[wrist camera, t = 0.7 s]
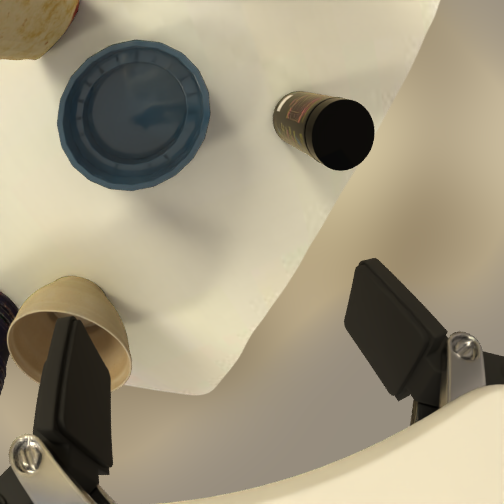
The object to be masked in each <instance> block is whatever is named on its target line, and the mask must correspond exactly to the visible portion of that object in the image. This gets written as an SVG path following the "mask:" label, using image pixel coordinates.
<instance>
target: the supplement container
mask: <svg viewBox="0 0 504 504" xmlns="http://www.w3.org/2000/svg"><path fill="white" fill-rule="evenodd" d="M273 124H274V128H275V131H276V133H277V134H278V136H279V137H280V138H281V139H282V140H283V141H285V142H286V143H288V144H290V145H292V146H293V147H295V148H297V149H299V150H300V151H302V152H304V153H306V154H307V155H309V156H311V157H312V158H314V159H315V160H316V161H318V162H319V163H321V164H323V165H325V166H327V167H328V168H330V169H333V170H339V171H342V170H348V169H351V168H353V167H355V166H357V165H358V164H360V163H361V162H362V161H363V160H364V159H365V158H366V157H367V155H368V154H369V152H370V150H371V148H372V145H373V141H374V124H373V120H372V118H371V116H370V114H369V112H368V111H367V110H366V108H365V107H364V106H362V105H361V104H360V103H358V102H356V101H353V100H349V99H345V98H340V97H332V96H327V95H321V94H316V93H309V92H303V91H296V92H292V93H289V94H287V95H286V96H284V97H283V98H282V99H281V100H280V101H279V102H278V104H277V105H276V107H275V110H274V114H273Z"/></svg>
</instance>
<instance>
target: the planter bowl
mask: <svg viewBox="0 0 504 504" xmlns="http://www.w3.org/2000/svg"><path fill="white" fill-rule="evenodd" d="M69 316H74V317H75V318H76V319H77V320H81V321H82V323H83V325H84V327H85V329H86V331H87V333H88V335H89V336H90V338H91V340H92V342H93V344H94V346H95V348H96V349H97V351H98V353H99V355H100V356H101V358H102V360H103V362H104V363H105V365H106V367H107V368H108V370H109V373H110V377H111V392H113V391H115V390H117V389H118V388H120V387H121V386H123V385H124V384H125V383H126V381H127V380H128V378H129V376H130V374H131V370H132V359H131V354H130V351H129V344H128V339H127V334H126V331H125V328H124V325H123V323H122V320H121V318H120V316H119V315H118V313H117V311H116V309H115V308H114V307H113V305H112V304H111V303H110V301H109V300H108V299H107V298H106V296H105V294H104V292H103V291H102V290H101V289H100V288H99V287H98V286H97V285H96V284H94V283H93V282H91V281H89V280H87V279H84V278H81V277H76V276H67V277H63V278H60V279H58V280H56V281H55V282H53V283H50V284H48V285H46V286H44V287H42V288H40V289H39V290H37V291H36V292H34V293H33V294H32V295H31V296H30V297H29V298H28V299H27V300H26V301H25V302H24V304H23V305H22V307H21V308H20V310H19V311H18V313H17V315H16V318H15V319H14V320H13V322H12V323H11V325H10V328H9V330H8V334H7V345H8V349H9V352H10V355H11V357H12V359H13V361H14V362H15V364H16V365H17V366H18V367H19V368H20V369H21V371H23V373H24V374H26V375H27V376H28V377H29V378H30V379H32V380H33V381H35V382H36V383H38V384H40V380H41V375H42V370H43V366H44V363H45V361H46V360H47V357H48V352H49V348H50V344H51V339H52V335H53V331H54V328H55V324H56V321H57V319H58V318H62V317H69Z"/></svg>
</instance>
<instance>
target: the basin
mask: <svg viewBox="0 0 504 504" xmlns="http://www.w3.org/2000/svg"><path fill="white" fill-rule="evenodd" d="M209 119H210V103H209V92H208V89H207V87H206V85H205V82H204V80H203V78H202V76H201V73H200V71H199V70H198V69H197V67H196V66H195V65H194V64H193V63H192V62H191V61H190V60H189V59H188V58H187V57H186V56H185V55H184V54H183V53H181V52H179V51H177V50H175V49H173V48H171V47H169V46H167V45H165V44H163V43H160V42H153V41H144V40H132V41H127V42H122V43H118V44H114V45H111V46H108V47H106V48H105V49H103V50H101V51H99V52H98V53H96V54H94V55H93V56H91V57H89V58H88V59H87V60H86V61H85V62H84V63H83V64H82V65H81V66H80V67H79V68H78V70H77V71H76V72H75V73H74V74H73V75H72V76H71V78H70V80H69V82H68V84H67V86H66V88H65V90H64V92H63V95H62V97H61V99H60V104H59V111H58V120H57V127H58V132H59V137H60V142H61V146H62V149H63V150H64V152H65V154H66V156H67V157H68V159H69V161H70V162H71V164H72V166H73V167H74V168H76V169H77V170H78V171H79V172H80V173H81V174H82V175H84V176H85V177H86V178H87V179H88V180H90V181H92V182H94V183H97V184H99V185H101V186H104V187H106V188H109V189H116V190H127V191H134V190H139V189H144V188H149V187H154V186H156V185H158V184H160V183H162V182H164V181H166V180H168V179H170V178H171V177H173V176H175V175H177V174H178V173H179V172H180V171H181V170H182V169H183V168H184V167H185V166H186V165H187V164H188V163H189V162H190V161H191V160H192V159H193V158H194V156H195V155H196V153H197V151H198V149H199V148H200V146H201V144H202V143H203V141H204V139H205V136H206V132H207V128H208V123H209Z"/></svg>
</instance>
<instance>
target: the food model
mask: <svg viewBox="0 0 504 504" xmlns="http://www.w3.org/2000/svg"><path fill="white" fill-rule="evenodd" d="M78 7H79V0H0V59H8V60H23V59H31V60H36V59H38V58H40V57H41V56H42V55H44V54H45V53H46V52H47V51H48V50H49V49H50V48H51V47H52V46H53V45H54V44H55V43H56V42H57V41H58V40H59V39H60V37H61V36H62V35H63V34H64V33H65V31H66V30H67V28H68V27H69V25H70V24H71V22H72V21H73V19H74V17H75V15H76V13H77V12H78Z"/></svg>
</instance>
